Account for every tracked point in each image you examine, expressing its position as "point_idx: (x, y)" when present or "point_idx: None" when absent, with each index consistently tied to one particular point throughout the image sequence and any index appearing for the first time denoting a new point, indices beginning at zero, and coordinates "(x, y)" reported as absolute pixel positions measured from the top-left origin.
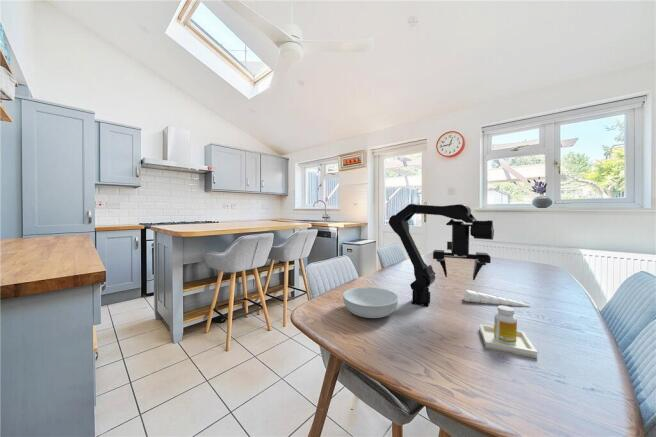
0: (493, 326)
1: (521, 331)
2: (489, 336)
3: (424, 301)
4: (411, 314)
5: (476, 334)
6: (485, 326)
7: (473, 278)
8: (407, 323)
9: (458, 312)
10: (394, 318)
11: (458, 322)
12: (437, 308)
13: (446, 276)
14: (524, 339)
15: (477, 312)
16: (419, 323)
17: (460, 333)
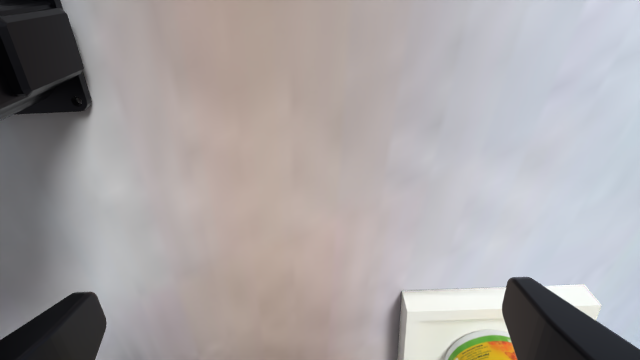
0: (470, 311)
1: (589, 310)
2: (428, 351)
3: (38, 98)
4: (57, 268)
5: (379, 333)
6: (430, 319)
7: (514, 344)
8: None
9: (308, 118)
10: None
11: (307, 259)
12: (163, 110)
13: (97, 343)
14: None
15: (443, 54)
16: (135, 337)
17: (315, 349)
